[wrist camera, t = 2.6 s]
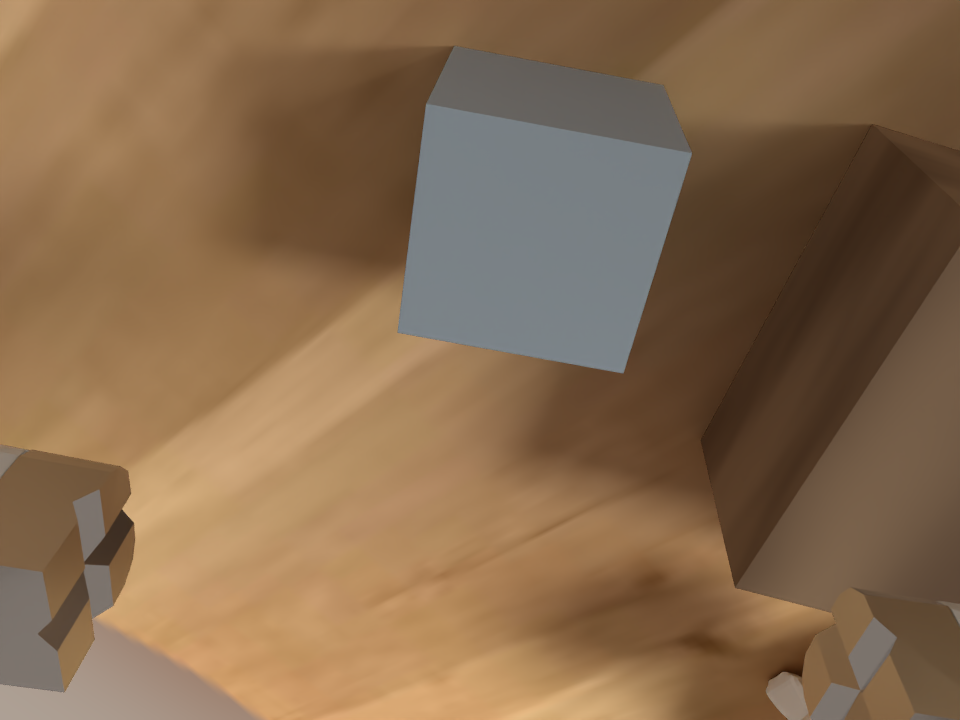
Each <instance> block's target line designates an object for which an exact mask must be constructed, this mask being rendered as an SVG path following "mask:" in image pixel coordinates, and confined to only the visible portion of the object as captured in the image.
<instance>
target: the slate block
mask: <svg viewBox="0 0 960 720" xmlns="http://www.w3.org/2000/svg"><path fill="white" fill-rule="evenodd" d="M691 156H692V152H691V149H690V147H689V145H688V142H687V140H686V138H685V135H684V133H683V130H682V128H681V126H680V123H679V121H678V119H677V116H676V114H675V112H674V109H673V107H672V104H671V102H670V100H669V97H668V95H667V93H666V90H665V88H664V86H663V85H660V84H654V83H649V82H644V81H639V80H633V79H628V78H623V77H617V76H612V75H607V74H601V73H596V72H591V71H585V70H580V69H575V68H569V67H564V66H559V65H554V64H548V63H543V62H538V61H532V60H527V59H522V58H516V57H511V56H506V55H500V54H495V53H490V52H485V51H479V50H474V49H469V48H463V47H458V46H454V48H453V50H452V52H451V54H450V56H449V58H448V60H447V62H446V64H445V66H444V68H443V70H442V72H441V74H440V76H439V78H438V80H437V82H436V85H435V87H434V89H433V91H432V93H431V95H430V97H429V99H428V101H427V103H426V109H425V117H424V125H423V133H422V141H421V149H420V157H419V165H418V173H417V181H416V189H415V197H414V205H413V213H412V221H411V229H410V237H409V245H408V253H407V261H406V269H405V277H404V285H403V293H402V301H401V309H400V317H399V325H398V333H402V334H407V335H413V336H418V337H424V338H430V339H435V340H441V341H446V342H452V343H457V344H463V345H468V346H474V347H479V348H485V349H491V350H496V351H502V352H507V353H513V354H518V355H524V356H529V357H535V358H540V359H546V360H551V361H557V362H563V363H568V364H574V365H579V366H585V367H590V368H596V369H601V370H607V371H612V372H618V373H624V370H625V367H626V363H627V360H628V357H629V354H630V351H631V347H632V344H633V341H634V338H635V335H636V331H637V328H638V325H639V322H640V319H641V315H642V312H643V309H644V306H645V303H646V299H647V296H648V293H649V290H650V287H651V283H652V280H653V277H654V274H655V271H656V267H657V264H658V261H659V258H660V255H661V251H662V248H663V245H664V242H665V239H666V235H667V232H668V229H669V226H670V223H671V220H672V216H673V213H674V210H675V207H676V204H677V200H678V197H679V194H680V191H681V188H682V184H683V181H684V178H685V175H686V172H687V168H688V165H689V162H690V159H691Z"/></svg>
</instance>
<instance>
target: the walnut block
mask: <svg viewBox="0 0 960 720" xmlns="http://www.w3.org/2000/svg"><path fill="white" fill-rule="evenodd" d="M701 444H702V448H703V452H704V456H705V461H706V465H707V469H708V474H709V478H710V482H711V487H712V491H713V495H714V499H715V504H716V508H717V512H718V517H719V521H720V525H721V530H722V534H723V538H724V543H725V547H726V551H727V555H728V560H729V564H730V568H731V573H732V577H733V581H734V586H735V588H738V589H742V590H746V591H750V592H753V593H757V594H761V595H765V596H769V597H773V598H777V599H781V600H784V601H788V602H792V603H796V604H800V605H804V606H808V607H812V608H816V609H819V610H823V611H827V612H831V613H832V611H831V608H832V606H833V605H834V603H835V601H836V600H837V598H838V596H839V595H840V594H841V593H842V592H844V591H846V590H847V589H849V588H850V587H852V588H859V589H865V590H871V591H878V592H884V593H891V594H897V595H903V596H910V597H916V598H923V599H929V600H933V601H943V602H950V603H956V604H960V151H958V150H955V149H952V148H948V147H945V146H942V145H939V144H935V143H932V142H929V141H926V140H922V139H919V138H916V137H913V136H909V135H906V134H903V133H900V132H896V131H893V130H890V129H886V128H883V127H880V126H877V125H873V124H872V126H871V127H870V129H869V131H868V133H867V135H866V137H865V138H864V140H863V142H862V144H861V146H860V148H859V150H858V151H857V153H856V155H855V157H854V159H853V161H852V162H851V164H850V166H849V168H848V170H847V172H846V174H845V175H844V177H843V179H842V181H841V183H840V185H839V186H838V188H837V190H836V192H835V194H834V196H833V197H832V199H831V201H830V203H829V205H828V207H827V209H826V210H825V212H824V214H823V216H822V218H821V220H820V221H819V223H818V225H817V227H816V229H815V231H814V233H813V234H812V236H811V238H810V240H809V242H808V244H807V245H806V247H805V249H804V251H803V253H802V255H801V257H800V258H799V260H798V262H797V264H796V266H795V268H794V269H793V271H792V273H791V275H790V277H789V279H788V281H787V282H786V284H785V286H784V288H783V290H782V292H781V293H780V295H779V297H778V299H777V301H776V303H775V305H774V306H773V308H772V310H771V312H770V314H769V316H768V317H767V319H766V321H765V323H764V325H763V327H762V329H761V330H760V332H759V334H758V336H757V338H756V340H755V341H754V343H753V345H752V347H751V349H750V351H749V353H748V354H747V356H746V358H745V360H744V362H743V364H742V365H741V367H740V369H739V371H738V373H737V375H736V377H735V378H734V380H733V382H732V384H731V386H730V388H729V389H728V391H727V393H726V395H725V397H724V399H723V400H722V402H721V404H720V406H719V408H718V410H717V412H716V413H715V415H714V417H713V419H712V421H711V423H710V424H709V426H708V428H707V430H706V432H705V434H704V436H703V437H702V439H701Z"/></svg>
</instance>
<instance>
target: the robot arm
mask: <svg viewBox="0 0 960 720" xmlns="http://www.w3.org/2000/svg"><path fill="white" fill-rule="evenodd" d="M130 495H131V488H130V481H129V474H128V471H127V470H125V469H124V468H122V467H121V466H116V465H110V464H105V463H100V462H95V461H89V460H84V459H79V458H74V457H68V456H63V455H58V454H53V453H47V452H42V451H37V450H26V449H21V448H16V447H11V446H6V445H0V684H3V685H11V686H18V687H26V688H34V689H42V690H51V691H58V692H65V691H66V689H67V687H68V685H69V684H70V682H71V680H72V678H73V677H74V675H75V673H76V671H77V670H78V668H79V666H80V664H81V662H82V660H83V659H84V657H85V655H86V654H87V652H88V650H89V648H90V647H91V645H92V643H93V641H94V639H95V638H94V631H93V624H92V618H94V617H96V616H97V615H99V614H101V613H102V612H104V611H106V610H107V609H109V608H111V607H112V606H114V604H115V602H116V600H117V598H118V596H119V594H120V592H121V591H122V589H123V587H124V585H125V582H126V579H127V576H128V573H129V570H130V566H131V563H132V560H133V554H134V545H135V531H134V523H133V522H132V520H131V519H130V518H129V517H128V516H127V515H126V514H125V513H124V511H123V510H122V508H123V506H124V505H125V503H126V501H127V500H128V498H129V496H130ZM831 611H832V614H833V617H834V620H835V622H836V624H835V625H833V626H831V627H829V628H827V629H826V630H824V631H822V632H820V633H818V634H816V635H815V637H814V639H813V640H812V642H811V644H810V646H809V648H808V650H807V652H806V654H805V659H804V666H803V673H802V683H803V694H804V699H805V703H806V706H807V710H808V713H809V717H810V718H811V719H812V720H960V604H956V603H950V602H943V601H933V600H929V599H923V598H916V597H910V596H903V595H897V594H891V593H884V592H878V591H871V590H865V589H859V588H852V587H850V588H849V589H847V590H846V591H844V592H842V593H841V594H840V595H839V596H838V598H837V600H836V601H835V603H834V605H833V606H832V608H831Z"/></svg>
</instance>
